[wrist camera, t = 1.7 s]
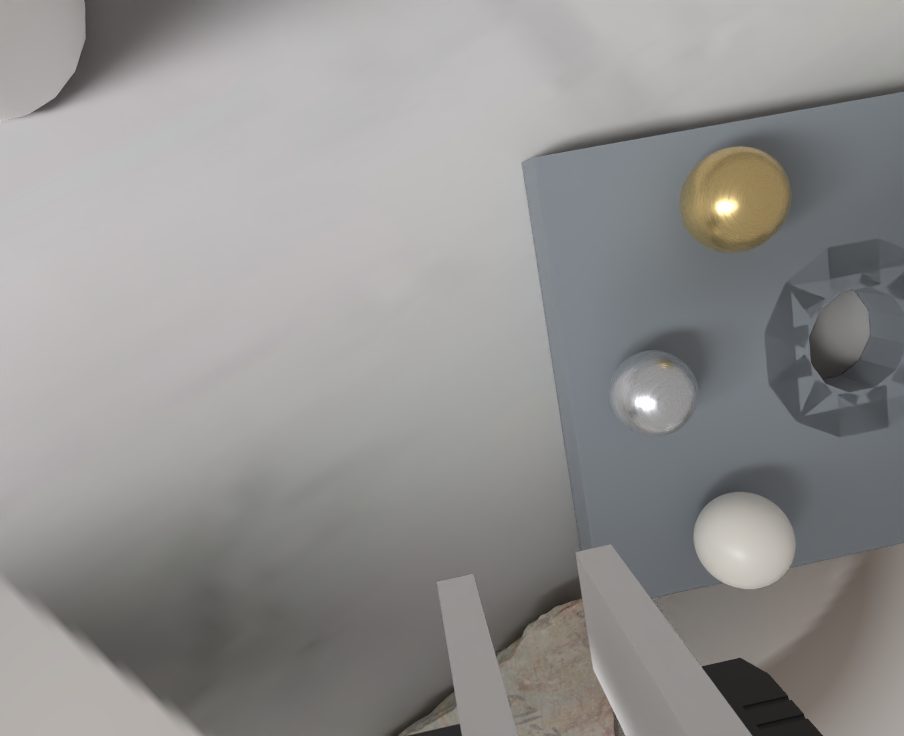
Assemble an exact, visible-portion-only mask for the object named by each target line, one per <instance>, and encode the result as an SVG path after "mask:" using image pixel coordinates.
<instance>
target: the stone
mask: <svg viewBox="0 0 904 736" xmlns="http://www.w3.org/2000/svg"><path fill="white" fill-rule="evenodd" d="M496 658H497V662H498V666H499V669H500V673H501V677H502V680H503V684H504V688H505V691H506V695H507V698H508V702H509V706H510V709H511V713H512V717H513V720H514V724H515V727H516V731H517V735H518V736H615V735H614V715H613V709H612V707H611V705H610V703H609V701H608V699H607V697H606V695H605V692H604V690H603V688H602V686H601V684H600V682H599V680H598V678H597V676H596V674H595V672H594V670H593V665H592V658H591V652H590V645H589V639H588V632H587V626H586V619H585V613H584V606H583V600H582V598H580V599H578V600H574V601H571V602H568V603H566V604H563V605H559V606H557V607H554V608H553V609H551V610H550V611H549V612H548V613H546V614H543V615H540V617H539V618H538V619H537V620H536V621H534V622H532V623H531V624H528V625H527V627H526V628H525V630H524V632H523V635H522V636H521V637H520V638H519V639H518V640H516V641H515V642H513V643H512V644H511V645H510V646H509V647H507V648H505V649H503V650H502V651H500V652H499V653H498V654H497V656H496ZM456 724H460V721H459V715H458V709H457V703H456V697H455V691H454V692H452V693H451V694H450V695H449V696H448V697H446V698H445V699H444V701H443V702H441V703H440V704H439V705H438V706H437V707H436V708H435V709H434V710H433V712H432V713H431V714H429V715H427V716H425V717H424V718H422V719H420V720H418V721H417V722H415V723H414V724H412V725H411V726H409V727H408V728H406V729H405V730H404V731H403V732H401V733H400V734H399V735H398V736H408V735H412V734H417V733H421V732H425V731H430V730H434V729H439V728H443V727H447V726H452V725H456Z"/></svg>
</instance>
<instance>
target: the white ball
mask: <svg viewBox="0 0 904 736" xmlns="http://www.w3.org/2000/svg"><path fill="white" fill-rule="evenodd" d="M693 538H694V546H695V550H696V553H697V555H698V558H699V559H700V561H701V563H702V564H703V566H704V567H705V568H706V570H707V571H708V572H709V573H710V574H711V575H712V576H714V577H715V578H716V579H718V580H719V581H721V582H723V583H725V584H727V585H729V586H732V587H736V588H741V589H757V588H762V587H765V586H768V585H770V584H772V583H774V582H776V581H777V580H778V579H780V578H781V577H782V576H783V575H784V574H785V573H786V572H787V570H788V569H789V567H790V565H791V563H792V561H793V558H794V554H795V547H796V541H795V535H794V531H793V528H792V525H791V523H790V521H789V519H788V518H787V516H786V515H785V514H784V512H783V511H782V510H781V509H780V508H779V507H778V506H777V505H775V504H774V503H773V502H772V501H770V500H768V499H767V498H765V497H762V496H760V495H757V494H754V493H750V492H731V493H727V494H723V495H721V496H718V497H717V498H715V499H713V500H712V501H710V502H709V503H708V504H707V505H706V506H705V507H704V508H703V509H702V511H701V512H700V514H699V516H698V518H697V520H696V523H695V527H694V534H693Z"/></svg>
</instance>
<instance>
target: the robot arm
mask: <svg viewBox="0 0 904 736" xmlns="http://www.w3.org/2000/svg"><path fill="white" fill-rule="evenodd" d="M575 554H576V561H577V567H578V574H579V580H580V587H581V593H582V600H583V606H584V613H585V619H586V626H587V632H588V639H589V645H590V652H591V658H592V665H593V670H594V672H595V674H596V676H597V678H598V680H599V682H600V684H601V686H602V688H603V690H604V692H605V695H606V697H607V699H608V701H609V703H610V705H611V707H612V709H613V711H614V713H615V715H616V717H617V719H618V721H619V723H620V725H621V727H622V729H623V731H624V733H625V735H626V736H823V735H822V734H821V733H820V732H819V731H818V730H817V729H816V727H815V726H814V725H813V724H812V723H811V722H810V721H809V720H808V719H805V717H804V714H803V713H802V712H801V710H800V709H799V708H798V707H797V706H796V705H795V704H794V702H793V701H792V700H789V699H788V696H787V694H786V693H785V692H784V691H783V690H782V689H781V687H780V686H779V685H778V684H777V683H776V682H775V681H774V680H773V678H772V677H771V676H770V675H769V674H768V673H766V672H764V671H763V670H761V669H759V668H757V667H756V666H754V665H752V664H750V663H748V662H747V661H745V660H743V659H741V658H737V659H733V660H728V661H724V662H720V663H715V664H711V665H706V666H702V667H701V666H700V664H699V663H698V662H697V660H696V659H695V657H694V656H693V655H692V653H691V652H690V651H689V649H688V648H687V647H686V645H685V644H684V643H683V641H682V640H681V639H680V637H679V636H678V634H677V633H676V632H675V630H674V629H673V628H672V626H671V625H670V624H669V622H668V621H667V620H666V618H665V617H664V616H663V614H662V613H661V611H660V610H659V609H658V607H657V606H656V605H655V603H654V602H653V601H652V599H651V598H650V597H649V595H648V594H647V592H646V591H645V590H644V588H643V587H642V586H641V584H640V583H639V582H638V580H637V579H636V578H635V576H634V575H633V574H632V572H631V571H630V569H629V568H628V567H627V565H626V564H625V563H624V561H623V560H622V559H621V557H620V556H619V555H618V553H617V552H616V550H615V549H614V548H613V546H612V545H606V546H601V547H597V548H592V549H587V550H583V551H578V552H575ZM437 588H438V594H439V600H440V606H441V612H442V618H443V624H444V630H445V636H446V642H447V648H448V654H449V661H450V667H451V673H452V679H453V685H454V691H455V697H456V703H457V709H458V715H459V721H460V724H456V725H452V726H447V727H443V728H439V729H434V730H430V731H425V732H421V733H417V734H412V735H408V736H518V735H517V731H516V727H515V724H514V720H513V717H512V713H511V709H510V706H509V702H508V698H507V695H506V691H505V688H504V684H503V680H502V677H501V673H500V669H499V666H498V662H497V658H496V655H495V651H494V648H493V644H492V640H491V637H490V633H489V629H488V626H487V622H486V619H485V615H484V611H483V608H482V604H481V600H480V597H479V593H478V590H477V586H476V582H475V579H474V575H473V574H470V575H466V576H461V577H456V578H452V579H447V580H442V581H437Z"/></svg>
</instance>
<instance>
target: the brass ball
mask: <svg viewBox="0 0 904 736" xmlns="http://www.w3.org/2000/svg"><path fill="white" fill-rule="evenodd" d="M791 198H792V193H791V185H790V181H789V178H788V176H787V174H786V172H785V170H784V169H783V167H782V166H781V165H780V163H779V162H778V161H777V160H776V159H775V158H773V157H772V156H771V155H769V154H768V153H766V152H764V151H762V150H759V149H756V148H752V147H746V146H736V147H728V148H724V149H721V150H718V151H716V152H713V153H711V154H710V155H708V156H706V157H705V158H704V159H702V160H701V161H700V162H699V163H698V164H697V165H696V166H695V167H694V168H693V169H692V170H691V172H690V173H689V175H688V176H687V178H686V180H685V182H684V184H683V187H682V190H681V195H680V213H681V218H682V221H683V223H684V225H685V227H686V229H687V231H688V232H689V234H690V235H691V236H692V237H693V238H694V239H695V240H696V241H697V242H698V243H700V244H701V245H703V246H704V247H706V248H709V249H711V250H714V251H717V252H722V253H740V252H745V251H749V250H752V249H754V248H757V247H759V246H760V245H762V244H764V243H765V242H767V241H768V240H769V239H771V238H772V237H773V236H774V235H775V234H776V233H777V232H778V231H779V229H780V228H781V226H782V225H783V223H784V222H785V220H786V218H787V216H788V213H789V210H790V206H791Z"/></svg>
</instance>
